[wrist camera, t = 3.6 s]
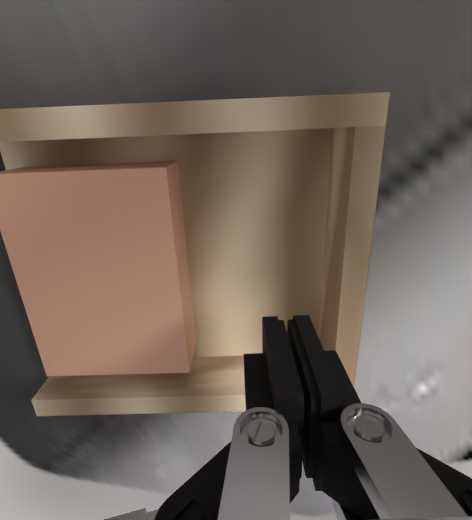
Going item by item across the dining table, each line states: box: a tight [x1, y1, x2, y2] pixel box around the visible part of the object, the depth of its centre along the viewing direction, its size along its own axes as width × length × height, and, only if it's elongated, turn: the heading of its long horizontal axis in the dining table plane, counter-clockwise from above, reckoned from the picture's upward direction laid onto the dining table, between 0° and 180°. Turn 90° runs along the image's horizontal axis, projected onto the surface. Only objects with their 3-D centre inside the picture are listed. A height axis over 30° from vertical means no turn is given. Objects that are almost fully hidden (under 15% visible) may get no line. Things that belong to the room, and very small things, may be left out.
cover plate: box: [0, 161, 196, 376], centre depth 18 cm, size 8×11×3 cm
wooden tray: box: [0, 92, 390, 416], centre depth 18 cm, size 18×16×4 cm
